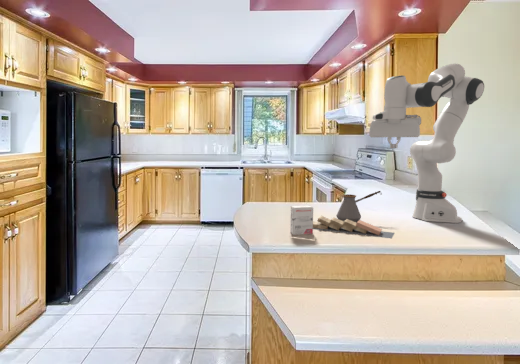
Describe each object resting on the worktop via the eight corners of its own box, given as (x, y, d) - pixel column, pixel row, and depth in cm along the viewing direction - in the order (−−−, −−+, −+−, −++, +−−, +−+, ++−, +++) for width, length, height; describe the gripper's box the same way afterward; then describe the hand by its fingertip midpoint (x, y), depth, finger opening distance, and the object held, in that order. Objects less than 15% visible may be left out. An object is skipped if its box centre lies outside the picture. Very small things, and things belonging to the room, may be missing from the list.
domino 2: (342, 224, 169) (321, 215, 173) (339, 227, 165) (318, 217, 168) (341, 228, 170) (320, 219, 173) (338, 230, 165) (317, 221, 169)
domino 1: (330, 223, 172) (308, 221, 176) (327, 225, 167) (305, 223, 171) (330, 226, 172) (308, 224, 176) (327, 229, 167) (305, 226, 172)
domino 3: (355, 226, 167) (333, 217, 171) (353, 228, 162) (330, 219, 166) (354, 229, 167) (332, 220, 171) (351, 232, 163) (329, 222, 166)
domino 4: (369, 227, 164) (346, 218, 168) (366, 230, 160) (344, 221, 164) (367, 231, 165) (345, 222, 169) (365, 233, 160) (342, 224, 164)
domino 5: (382, 229, 162) (359, 219, 166) (380, 231, 158) (357, 222, 161) (380, 232, 162) (358, 223, 166) (378, 235, 158) (355, 225, 162)
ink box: (309, 232, 165) (310, 204, 163) (313, 235, 160) (313, 207, 158) (289, 233, 163) (290, 205, 162) (293, 236, 158) (293, 207, 157)
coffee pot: (340, 224, 179) (341, 192, 177) (333, 219, 190) (334, 189, 188) (384, 224, 180) (386, 192, 178) (375, 219, 192) (377, 189, 190)
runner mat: (394, 234, 162) (394, 232, 162) (391, 239, 154) (391, 238, 153) (316, 225, 177) (316, 224, 177) (309, 230, 168) (309, 228, 168)
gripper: (421, 114, 161) (420, 148, 162) (371, 116, 169) (370, 147, 171) (421, 114, 155) (419, 148, 157) (368, 115, 164) (368, 148, 165)
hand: (393, 148), depth 164 cm, fingers closed
